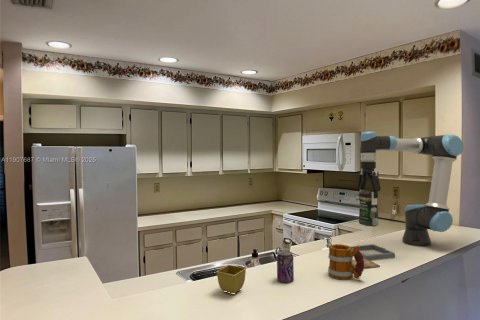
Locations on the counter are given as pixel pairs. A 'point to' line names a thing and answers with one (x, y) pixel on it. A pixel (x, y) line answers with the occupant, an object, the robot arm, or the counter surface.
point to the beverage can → (285, 266)
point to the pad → (366, 264)
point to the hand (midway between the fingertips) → (368, 203)
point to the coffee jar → (367, 209)
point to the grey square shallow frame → (385, 254)
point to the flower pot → (231, 278)
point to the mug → (345, 262)
